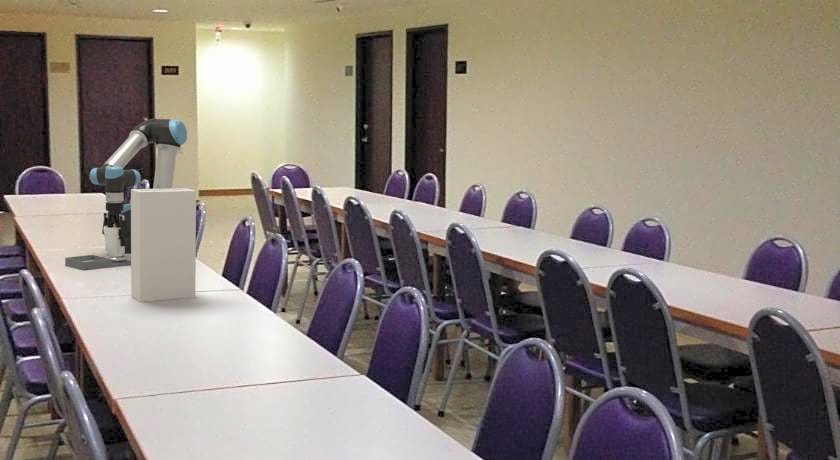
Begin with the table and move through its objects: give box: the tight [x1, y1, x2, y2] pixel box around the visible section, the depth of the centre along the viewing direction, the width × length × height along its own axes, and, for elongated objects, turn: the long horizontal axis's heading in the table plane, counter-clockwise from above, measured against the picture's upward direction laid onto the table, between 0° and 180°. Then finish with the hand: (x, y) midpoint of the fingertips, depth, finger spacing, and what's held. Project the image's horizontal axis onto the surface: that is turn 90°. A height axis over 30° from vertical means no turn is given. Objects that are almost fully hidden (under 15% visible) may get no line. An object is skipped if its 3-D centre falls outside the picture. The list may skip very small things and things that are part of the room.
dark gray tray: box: [64, 254, 131, 271], centre depth 418 cm, size 25×15×4 cm, turn 140°
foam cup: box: [102, 225, 123, 257], centre depth 423 cm, size 10×9×13 cm
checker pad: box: [104, 255, 126, 262], centre depth 423 cm, size 9×9×2 cm
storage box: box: [130, 187, 197, 303], centre depth 353 cm, size 21×10×40 cm, turn 124°
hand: (115, 252), depth 423 cm, fingers closed on foam cup, 9 cm apart
